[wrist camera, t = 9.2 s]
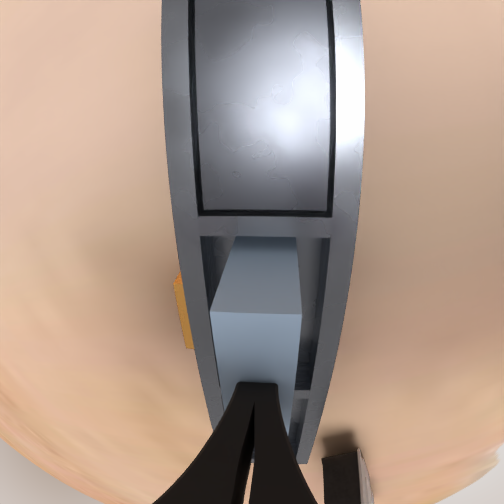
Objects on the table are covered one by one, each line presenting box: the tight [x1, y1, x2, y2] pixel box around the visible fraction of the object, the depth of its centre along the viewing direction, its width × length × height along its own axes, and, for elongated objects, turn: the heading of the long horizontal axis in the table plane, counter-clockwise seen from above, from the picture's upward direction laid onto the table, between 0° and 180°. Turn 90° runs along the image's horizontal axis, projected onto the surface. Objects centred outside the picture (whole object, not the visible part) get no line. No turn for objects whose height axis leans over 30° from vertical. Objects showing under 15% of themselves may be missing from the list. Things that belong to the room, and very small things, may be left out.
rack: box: [161, 0, 365, 464], centre depth 15 cm, size 8×30×3 cm, turn 1°
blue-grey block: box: [210, 236, 302, 435], centre depth 13 cm, size 3×7×6 cm, turn 1°
